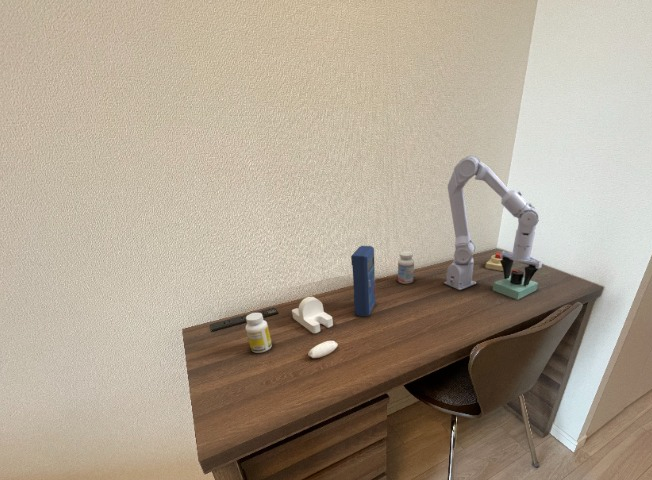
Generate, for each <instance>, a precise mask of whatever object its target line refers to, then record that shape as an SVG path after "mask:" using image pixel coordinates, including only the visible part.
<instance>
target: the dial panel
mask: <svg viewBox="0 0 652 480" xmlns="http://www.w3.org/2000/svg"><path fill="white" fill-rule="evenodd" d="M510 279H511V275H510V276H509V278H507V279H504V278H501V279H499V280H497V281H494V282H493V285H492V291H493V292H496V293H498V294H502V295H504V296H506V297H509V298H512V299H514V300H516V301H518V300H520V299H522V298H524V297H526V296H528V295H530V294H532V293H534V292H535V291H536V292H537V289H538V286H539V282H537V281H534V280H532V279H531V280H530V282H529V284H528V285H527V286H524V279H525V277H523V280H522V284H520V285H515V284H512V283H510Z"/></svg>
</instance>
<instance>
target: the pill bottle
mask: <svg viewBox="0 0 652 480" xmlns="http://www.w3.org/2000/svg"><path fill="white" fill-rule="evenodd" d="M399 257H400V258H399V259H398V261H397V282H398V283H400V284H403V285H408V284H411V283H413V282H414V276H415V260H414V259H413V257H414V256H413V252H411V251H402V252H400V253H399Z"/></svg>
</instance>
